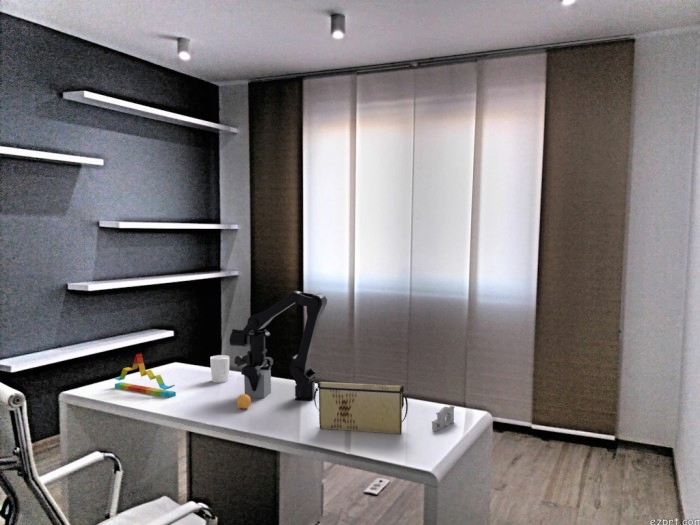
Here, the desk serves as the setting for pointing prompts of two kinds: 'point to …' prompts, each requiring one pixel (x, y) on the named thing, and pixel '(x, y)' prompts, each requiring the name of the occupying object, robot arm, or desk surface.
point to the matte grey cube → (259, 385)
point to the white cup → (220, 368)
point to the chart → (137, 388)
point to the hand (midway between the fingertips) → (257, 388)
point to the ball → (243, 401)
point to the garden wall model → (443, 418)
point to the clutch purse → (361, 407)
